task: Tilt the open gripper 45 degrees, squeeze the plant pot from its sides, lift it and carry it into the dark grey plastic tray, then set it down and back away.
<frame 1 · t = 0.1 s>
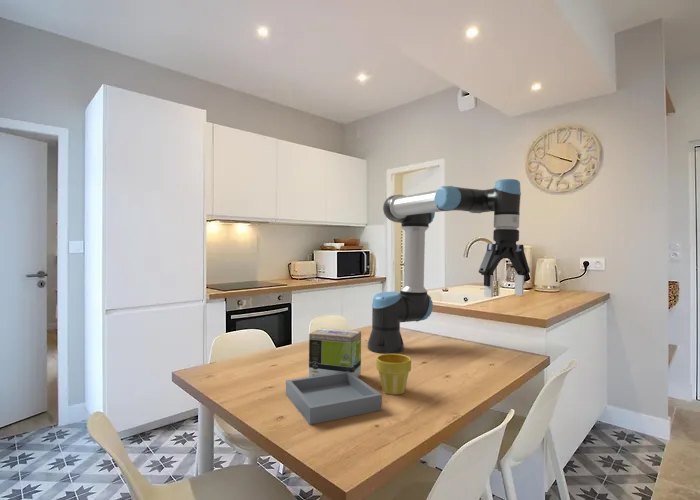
hand: (504, 296, 119), 28 cm above the table, tool pointing down, fingers open, 13 cm apart
serving tray: (331, 401, 103), on the table
plant pot: (393, 391, 112), on the table
tea box: (334, 377, 123), on the table
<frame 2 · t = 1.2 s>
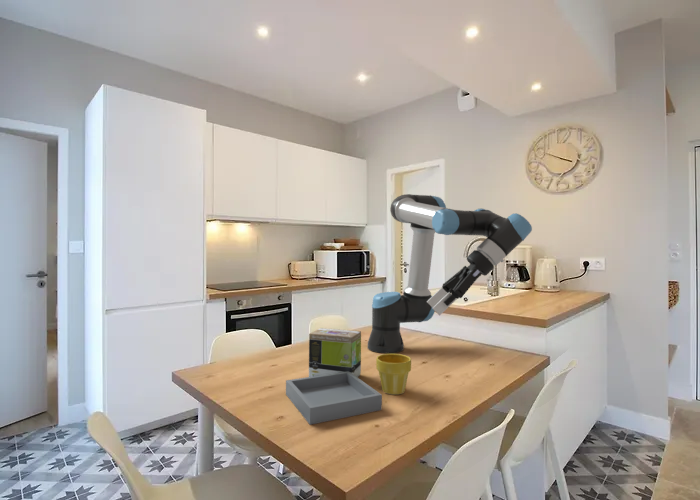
hand: (432, 308, 111), 25 cm above the table, tool tilted 45°, fingers open, 13 cm apart
nothing on the table moved.
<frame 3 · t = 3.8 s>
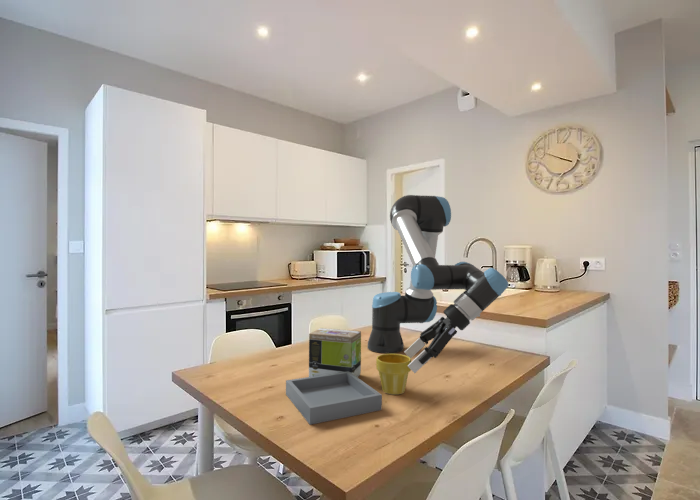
hand: (408, 362, 110), 9 cm above the table, tool tilted 45°, fingers open, 13 cm apart
nothing on the table moved.
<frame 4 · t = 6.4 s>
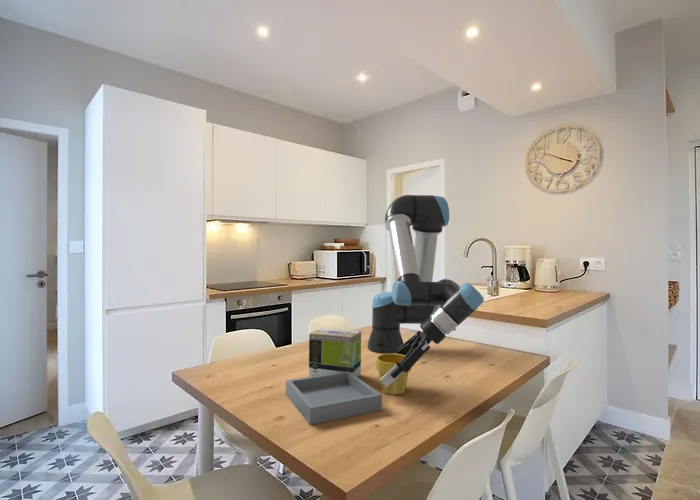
hand: (383, 376, 112), 4 cm above the table, tool tilted 45°, fingers closed on plant pot, 10 cm apart
plant pot: (393, 391, 112), on the table, touching gripper
everything else where it was.
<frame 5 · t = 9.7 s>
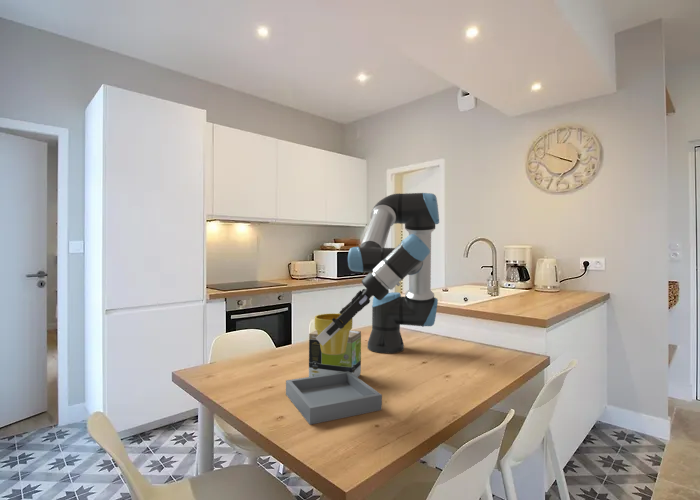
hand: (322, 336, 103), 18 cm above the table, tool tilted 45°, fingers closed on plant pot, 10 cm apart
plant pot: (333, 352, 103), point 14 cm above the table, touching gripper
everything else where it was.
when the fingers open (6 cm above the table, at t = 13.3 s): plant pot drops 1 cm, resting on serving tray.
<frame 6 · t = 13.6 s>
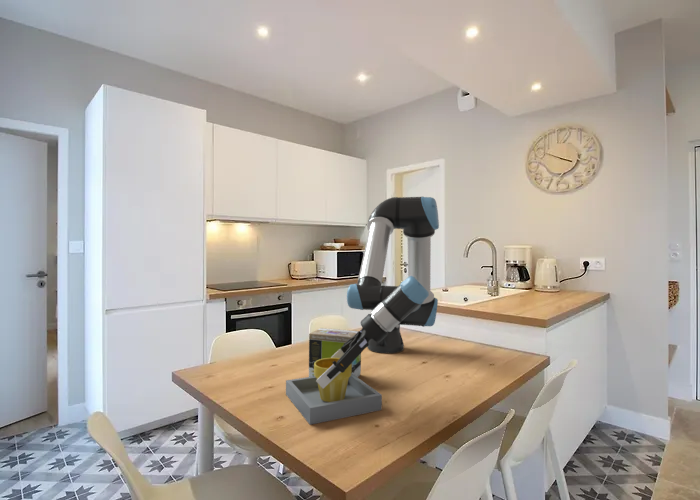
hand: (323, 375, 103), 7 cm above the table, tool tilted 45°, fingers open, 13 cm apart
plant pot: (332, 398, 103), point 1 cm above the table, touching serving tray
everything else where it was.
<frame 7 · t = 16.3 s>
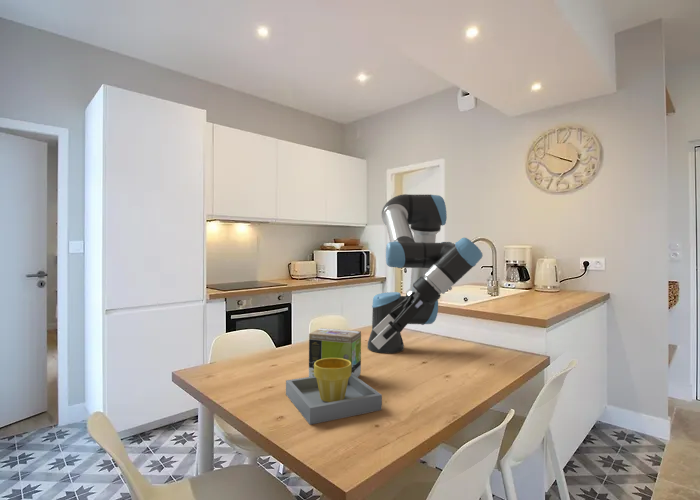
hand: (375, 338, 103), 18 cm above the table, tool tilted 45°, fingers open, 13 cm apart
nothing on the table moved.
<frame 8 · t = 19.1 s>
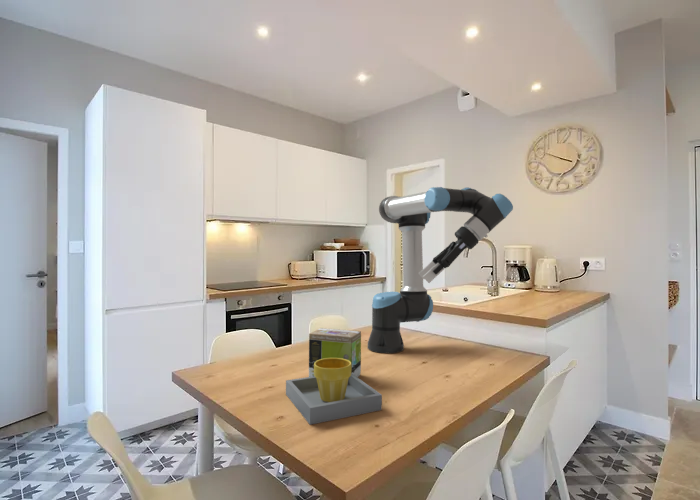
hand: (423, 278, 124), 33 cm above the table, tool tilted 45°, fingers open, 13 cm apart
nothing on the table moved.
at the end: plant pot inside the target area on the serving tray (0.1 cm from its centre), point 0.8 cm above the serving tray's base; plant pot tilted 0°; the gripper is holding nothing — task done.
